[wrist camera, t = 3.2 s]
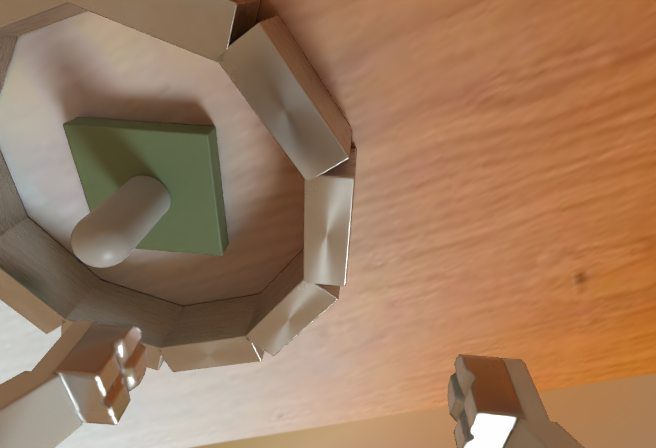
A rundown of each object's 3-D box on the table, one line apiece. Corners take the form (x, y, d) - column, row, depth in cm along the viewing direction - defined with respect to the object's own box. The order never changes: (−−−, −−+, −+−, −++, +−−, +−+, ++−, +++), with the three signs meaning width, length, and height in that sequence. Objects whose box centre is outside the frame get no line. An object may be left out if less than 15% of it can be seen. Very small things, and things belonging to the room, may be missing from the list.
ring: (373, -49, 13) (374, -56, 10) (340, 342, 23) (337, 388, 20) (-139, -72, 14) (-253, -84, 11) (40, 314, 24) (1, 355, 21)
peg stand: (216, 126, 17) (156, 183, 12) (229, 244, 20) (185, 327, 15) (76, 116, 17) (-35, 168, 12) (111, 234, 20) (33, 312, 15)
